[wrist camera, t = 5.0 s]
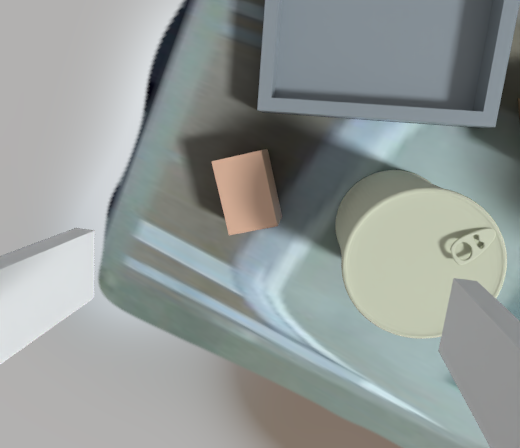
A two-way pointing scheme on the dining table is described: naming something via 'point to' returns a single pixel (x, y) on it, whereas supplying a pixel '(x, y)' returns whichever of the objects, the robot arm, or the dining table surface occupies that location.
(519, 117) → the walnut block
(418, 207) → the can
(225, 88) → the dining table surface
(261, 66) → the tray
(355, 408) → the dining table surface
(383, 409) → the dining table surface
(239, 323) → the dining table surface
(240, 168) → the soap block
